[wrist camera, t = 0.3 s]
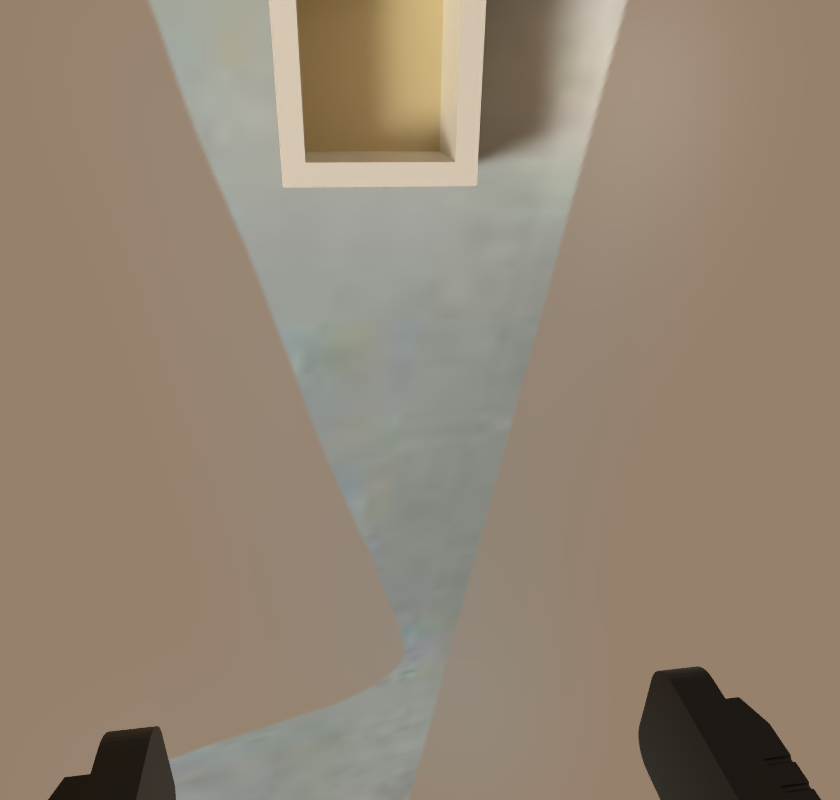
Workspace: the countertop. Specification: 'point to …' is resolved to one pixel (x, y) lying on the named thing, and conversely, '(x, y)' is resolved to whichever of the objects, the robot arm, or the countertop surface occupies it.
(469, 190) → the countertop surface
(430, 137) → the cream open cubby box
